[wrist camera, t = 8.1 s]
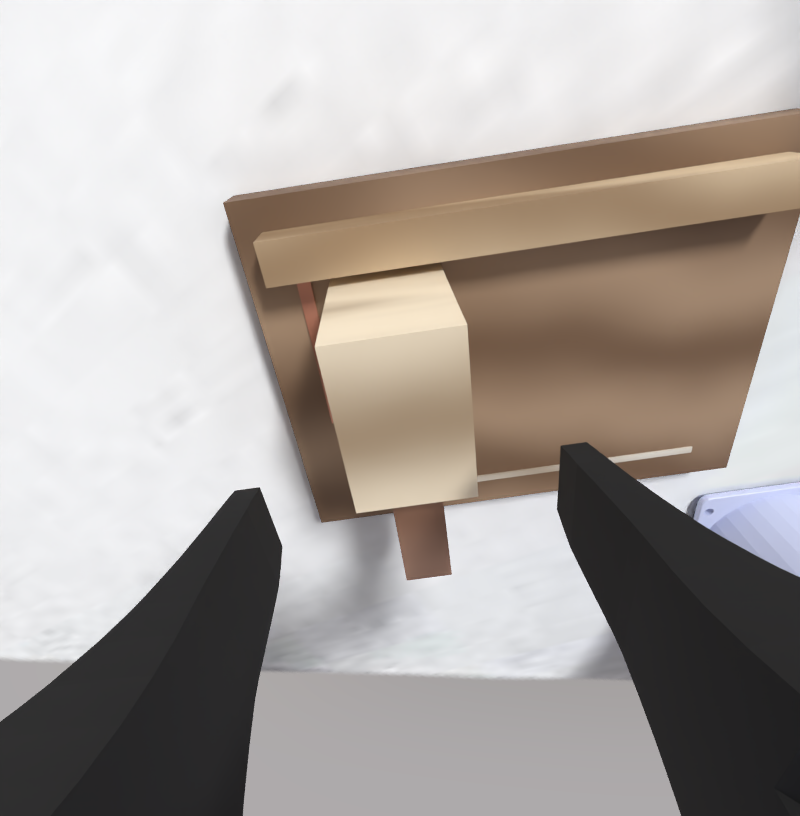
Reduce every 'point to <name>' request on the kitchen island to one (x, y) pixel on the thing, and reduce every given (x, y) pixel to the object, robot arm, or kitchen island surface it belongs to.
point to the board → (552, 292)
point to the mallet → (401, 402)
